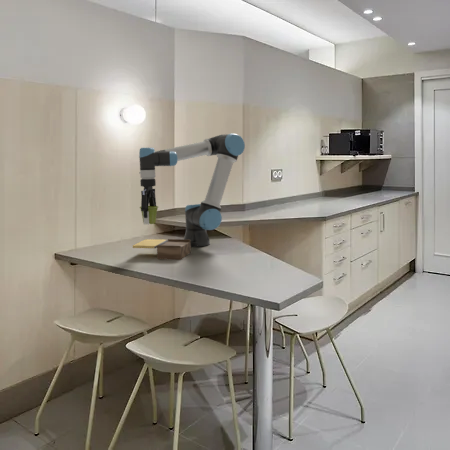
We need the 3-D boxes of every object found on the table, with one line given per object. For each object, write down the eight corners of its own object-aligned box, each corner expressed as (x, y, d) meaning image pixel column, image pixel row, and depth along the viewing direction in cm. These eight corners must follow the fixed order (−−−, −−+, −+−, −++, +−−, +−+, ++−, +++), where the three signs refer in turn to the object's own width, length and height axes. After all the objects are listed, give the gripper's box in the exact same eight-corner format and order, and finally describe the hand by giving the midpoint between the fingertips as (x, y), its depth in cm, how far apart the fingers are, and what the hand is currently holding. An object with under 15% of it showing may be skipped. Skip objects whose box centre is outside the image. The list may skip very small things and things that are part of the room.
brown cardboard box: (180, 259, 245) (180, 245, 244) (157, 259, 248) (156, 245, 246) (190, 252, 262) (190, 239, 261) (168, 251, 265) (168, 238, 264)
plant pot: (150, 221, 262) (149, 205, 261) (162, 223, 256) (162, 206, 255) (136, 223, 255) (135, 207, 253) (148, 225, 249) (148, 208, 247)
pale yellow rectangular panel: (156, 246, 246) (132, 245, 249) (156, 248, 247) (132, 248, 249) (168, 239, 264) (145, 239, 267) (168, 241, 264) (145, 241, 267)
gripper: (148, 177, 263) (149, 220, 266) (132, 179, 243) (134, 225, 246) (161, 177, 261) (163, 220, 265) (147, 179, 241) (149, 226, 244)
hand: (149, 222), depth 255 cm, fingers closed on plant pot, 8 cm apart
